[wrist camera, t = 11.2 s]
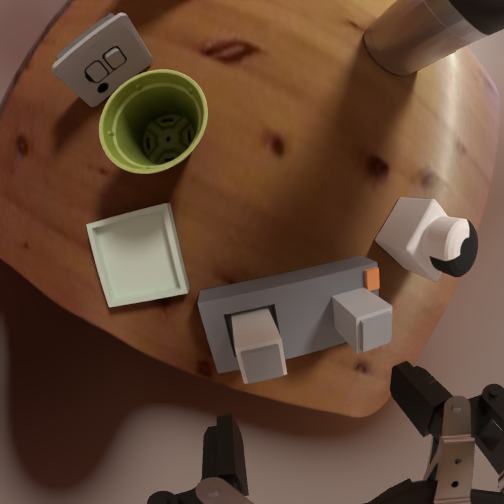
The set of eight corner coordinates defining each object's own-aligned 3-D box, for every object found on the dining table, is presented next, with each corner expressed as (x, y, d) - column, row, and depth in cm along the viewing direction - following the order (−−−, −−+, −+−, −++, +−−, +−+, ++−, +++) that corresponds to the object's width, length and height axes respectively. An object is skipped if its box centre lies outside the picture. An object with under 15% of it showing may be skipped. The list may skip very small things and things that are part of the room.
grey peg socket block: (361, 255, 33) (412, 277, 22) (364, 318, 34) (407, 356, 24) (200, 290, 31) (191, 333, 21) (217, 355, 33) (218, 411, 23)
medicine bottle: (428, 227, 33) (490, 241, 21) (404, 269, 34) (464, 295, 22) (399, 196, 32) (465, 199, 20) (372, 240, 32) (435, 260, 21)
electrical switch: (93, 110, 26) (54, 80, 16) (80, 87, 25) (43, 56, 16) (156, 63, 25) (133, 19, 16) (138, 42, 25) (115, 1, 16)
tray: (170, 202, 29) (166, 202, 27) (189, 287, 31) (187, 293, 29) (93, 222, 28) (86, 224, 26) (114, 301, 30) (109, 307, 28)
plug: (265, 301, 31) (282, 341, 22) (270, 331, 32) (288, 377, 23) (230, 308, 31) (235, 352, 22) (237, 338, 32) (244, 387, 22)
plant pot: (127, 111, 26) (98, 85, 18) (206, 94, 27) (202, 60, 19) (134, 187, 28) (103, 184, 20) (216, 172, 29) (214, 161, 20)
